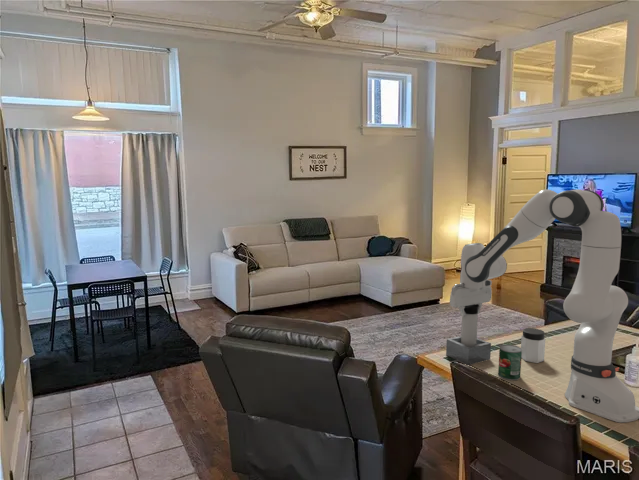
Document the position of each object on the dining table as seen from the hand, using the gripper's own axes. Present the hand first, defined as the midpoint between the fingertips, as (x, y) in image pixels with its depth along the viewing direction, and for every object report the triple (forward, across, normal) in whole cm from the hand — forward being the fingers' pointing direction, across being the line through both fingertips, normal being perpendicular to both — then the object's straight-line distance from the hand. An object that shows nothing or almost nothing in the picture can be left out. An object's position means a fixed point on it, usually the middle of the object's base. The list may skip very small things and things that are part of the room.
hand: (470, 314), depth 193 cm
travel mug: (+16, 0, 0) cm, 16 cm away
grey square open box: (+18, 0, 0) cm, 18 cm away
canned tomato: (+19, 0, -21) cm, 28 cm away
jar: (+19, +22, -14) cm, 32 cm away
